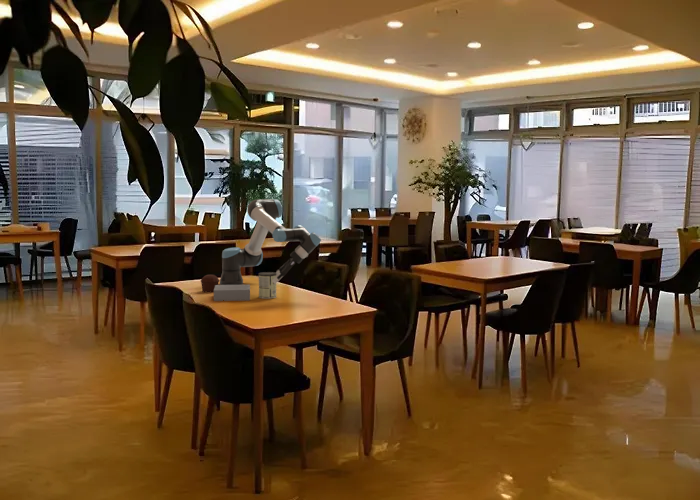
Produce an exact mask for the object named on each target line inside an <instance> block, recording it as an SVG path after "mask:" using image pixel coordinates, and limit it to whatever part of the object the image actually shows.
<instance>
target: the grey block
mask: <svg viewBox="0 0 700 500" xmlns="http://www.w3.org/2000/svg"><path fill="white" fill-rule="evenodd" d="M223 300H224V301H223ZM229 301H230V302H232V301H235V302H236V301H241V302H242V301H244V302H245V301H251V284H240V285H221V284H218V285H215V288H214V292H213V302H229Z"/></svg>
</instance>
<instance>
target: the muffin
mask: <svg viewBox="0 0 700 500" xmlns="http://www.w3.org/2000/svg"><path fill="white" fill-rule="evenodd" d="M200 284H201V289H202V293H214V288H215V285H219V284H220V278H219V277H218V276H216V275H215V274H206V275H204V276H203V277H202V278H201V280H200Z"/></svg>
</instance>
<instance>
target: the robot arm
mask: <svg viewBox="0 0 700 500" xmlns="http://www.w3.org/2000/svg"><path fill="white" fill-rule="evenodd" d="M246 209H247V214H248V216H249V217H250V219H252V220H253V221H255V222H256V225H255V227H254V229H253V233H252V234H251V236H250V239H249V242H248V243H247V244H245V245H244V248H243V249H241V248H240V247H238V246H237V247H228V248H225V249H224V250H222V253H221V264H222V265H221V267H222V270H221V271H222V273H221V276H220V278H219V285H244V279H243V276H242V273H241V268H249V267H257V266H259V265H261V264H262V262H263V256H264V254H263V250H262V246H263V244H264V242H265V239H266V237H267V234H268V233H271V235H272V239H273V241H274V242H276V243H285V242H300V244H299V245H298V246H297V247H296V248H295V249H294V250H293V251H292V252H291V253H289V256H290V258H289V259H288V260H287V261H286V262H285V263H283V265H282V266H280V267H279V269H277V270H276V272H275V273H276V277H275V278H274V279H273V280H272V282H273V283H274V284H276V285H277V284H278V282H279V281H280V280H281V279H282V278H283V277H285V276H286V275H287V274H288V272H289V271H290V270H291V269H292V268H293V266H295V265H296V263H297V264H298V265H300V263H301V262H302V261H303V260H304V259H305V258H308V257H309V254H311V253H312V252H313V251H314V249H315V248H316V247H318V246H319V244H320V243H321V242H322V239H321V238H320V237H319V236H318V235H317V234H316V233H315V232H314V231H312V232H311V233H310V232H309V231H308V230H307V229H306V228H305V227H304V226H302V225H300V224H297V225H296V226H294V227H293V228H286V227H285V226H284V225H282V224H281V223H280V222H278V221H277V218H278V219H279V218H281V217H282V215H283V206H282V204H281V201H280V200H279V199H276V198H272V199H270V198H269V199H268V198H267V199H265V198H264V199H263V198H262V199H260V198H259V199H254V200H251V202H250V203H248V206H247V208H246Z"/></svg>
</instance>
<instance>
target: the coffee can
mask: <svg viewBox="0 0 700 500" xmlns="http://www.w3.org/2000/svg"><path fill="white" fill-rule="evenodd" d="M275 277H276V272H274V271H267V272H266V271H263V272H258V298H259V299H267V300H268V299H275V298H277V283H276V284H274V283H273V282H272V280H273V279H274V278H275Z"/></svg>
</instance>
